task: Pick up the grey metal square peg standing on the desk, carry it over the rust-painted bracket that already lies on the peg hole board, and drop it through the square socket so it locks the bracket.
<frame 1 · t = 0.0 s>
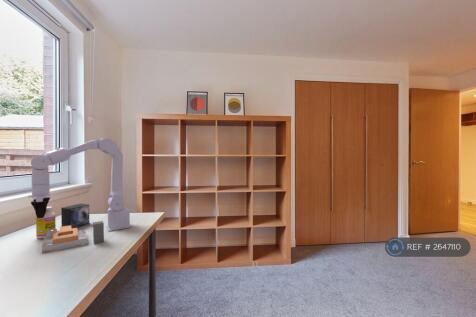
hand: (41, 216, 98), 10 cm above the table, fingers open, 5 cm apart
peg hole board: (65, 242, 96), on the table
small box: (76, 226, 119), on the table
supplement bottle: (46, 236, 104), on the table, touching gripper
grey metal square peg: (98, 241, 97), on the table
bracket: (65, 233, 99), point 3 cm above the table
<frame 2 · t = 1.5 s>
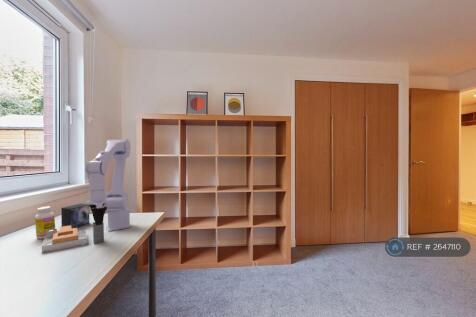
hand: (98, 222, 97), 8 cm above the table, fingers open, 7 cm apart
supplement bottle: (46, 236, 104), on the table
everything else where it was.
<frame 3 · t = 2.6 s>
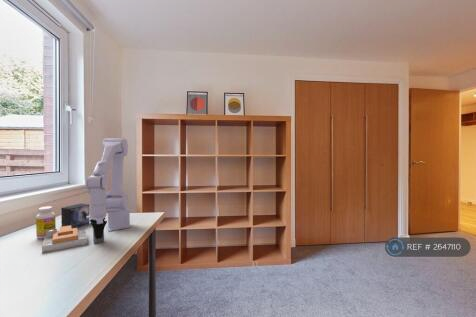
hand: (98, 237, 97), 2 cm above the table, fingers closed on grey metal square peg, 3 cm apart
grey metal square peg: (98, 241, 97), on the table, touching gripper
everything else where it was.
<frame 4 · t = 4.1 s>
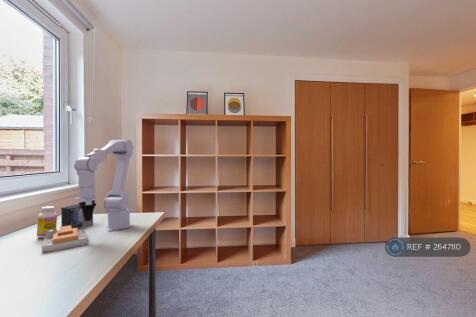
hand: (87, 219, 96), 9 cm above the table, fingers closed on grey metal square peg, 3 cm apart
grey metal square peg: (88, 225, 97), point 7 cm above the table, touching gripper
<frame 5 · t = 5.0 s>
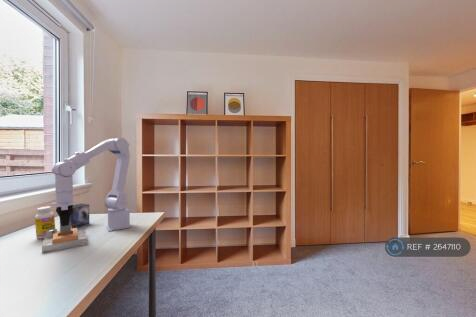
hand: (65, 224, 96), 8 cm above the table, fingers closed on grey metal square peg, 3 cm apart
grey metal square peg: (65, 230, 96), point 5 cm above the table, touching gripper
when the fingers open (5 cm above the table, at t = 5.7 s): grey metal square peg drops 3 cm, resting in peg hole board.
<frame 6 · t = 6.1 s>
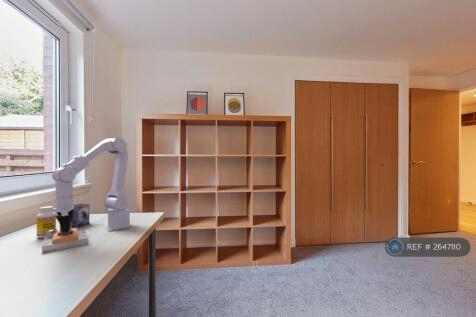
hand: (65, 229, 96), 5 cm above the table, fingers open, 7 cm apart
grey metal square peg: (66, 242, 96), resting in peg hole board
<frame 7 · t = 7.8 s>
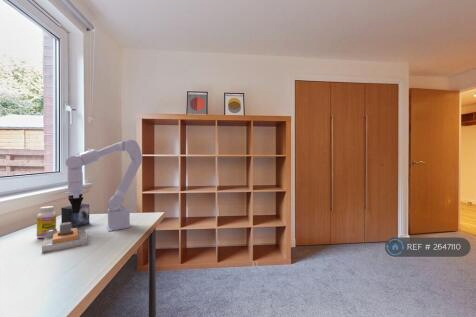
hand: (76, 211, 109), 10 cm above the table, fingers open, 7 cm apart
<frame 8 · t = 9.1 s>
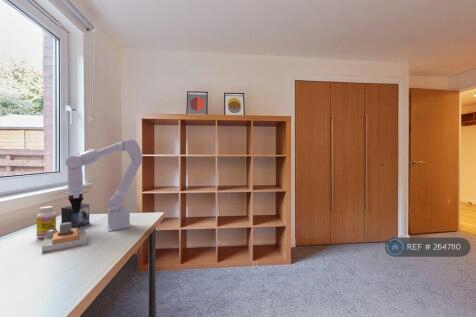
hand: (76, 211, 109), 10 cm above the table, fingers open, 7 cm apart
at the end: grey metal square peg 0.1 cm off-centre on the peg hole board, point 0.0 cm above the peg hole board's base; grey metal square peg tilted 0°; the gripper is holding nothing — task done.
